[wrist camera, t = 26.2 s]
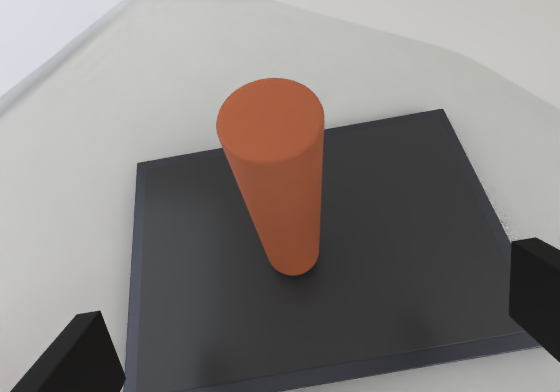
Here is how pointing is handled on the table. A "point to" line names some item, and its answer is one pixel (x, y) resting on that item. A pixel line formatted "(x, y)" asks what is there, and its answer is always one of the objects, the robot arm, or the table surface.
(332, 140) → the plate
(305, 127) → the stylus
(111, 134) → the table surface
